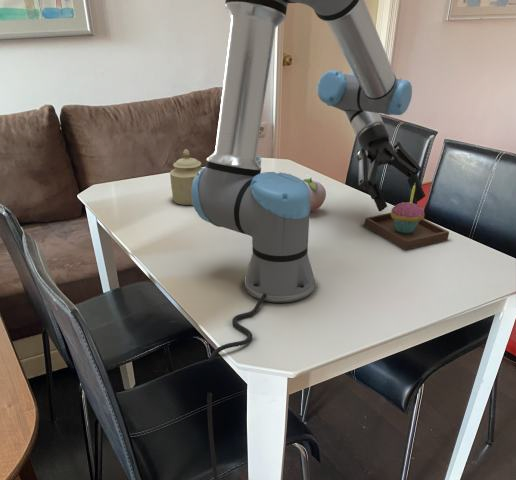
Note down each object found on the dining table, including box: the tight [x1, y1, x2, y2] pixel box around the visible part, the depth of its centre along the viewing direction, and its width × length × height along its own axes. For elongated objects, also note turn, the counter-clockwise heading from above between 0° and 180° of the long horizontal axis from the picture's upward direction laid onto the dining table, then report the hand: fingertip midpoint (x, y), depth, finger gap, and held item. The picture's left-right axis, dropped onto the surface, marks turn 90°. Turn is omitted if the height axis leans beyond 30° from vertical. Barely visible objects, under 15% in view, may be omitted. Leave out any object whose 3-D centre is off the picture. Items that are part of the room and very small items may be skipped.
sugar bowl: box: [169, 148, 204, 206], centre depth 153 cm, size 15×11×15 cm
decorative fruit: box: [302, 177, 327, 213], centre depth 144 cm, size 9×8×10 cm
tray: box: [363, 212, 450, 251], centre depth 133 cm, size 18×14×2 cm
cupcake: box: [390, 184, 425, 233], centre depth 130 cm, size 9×8×12 cm
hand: (402, 203), depth 131 cm, fingers open, 13 cm apart
